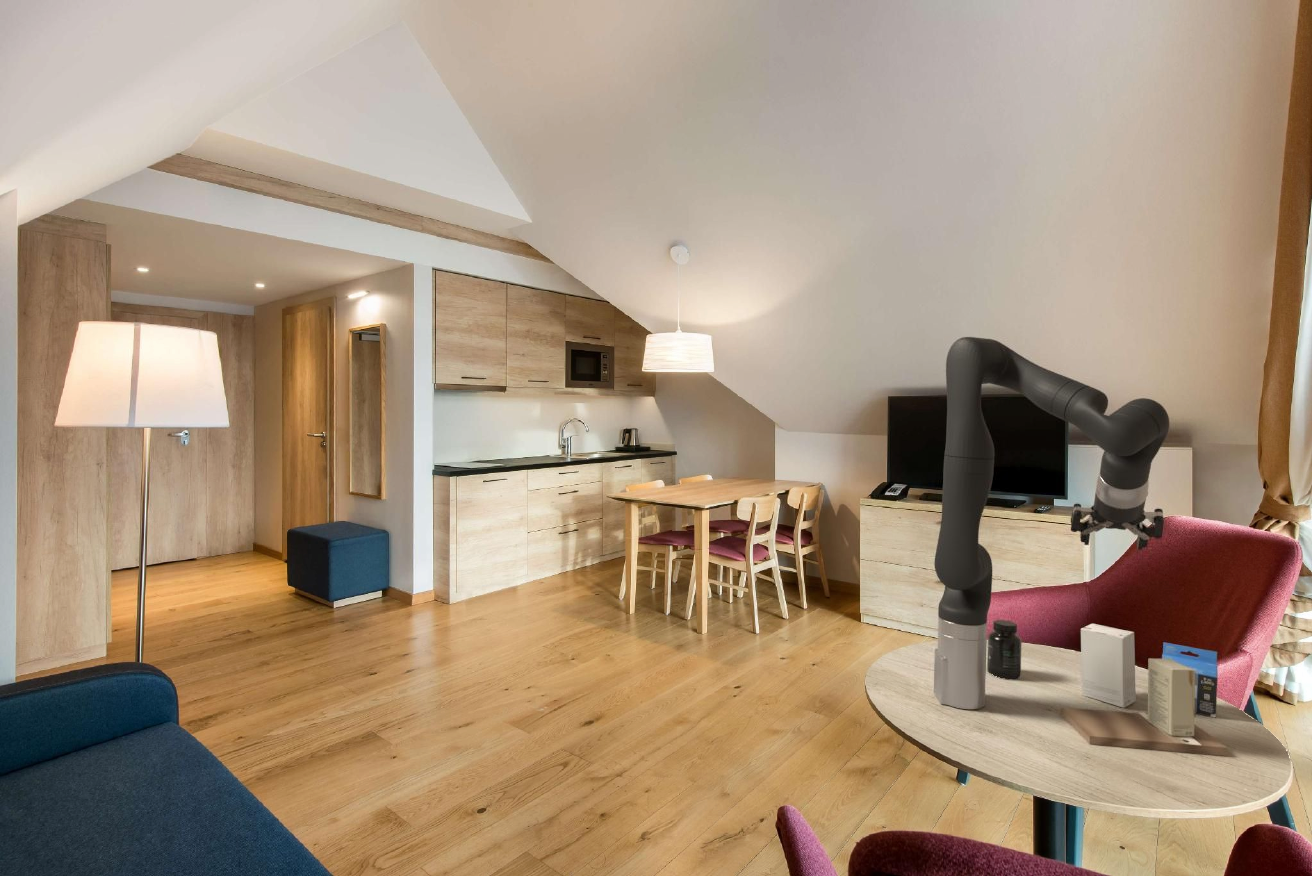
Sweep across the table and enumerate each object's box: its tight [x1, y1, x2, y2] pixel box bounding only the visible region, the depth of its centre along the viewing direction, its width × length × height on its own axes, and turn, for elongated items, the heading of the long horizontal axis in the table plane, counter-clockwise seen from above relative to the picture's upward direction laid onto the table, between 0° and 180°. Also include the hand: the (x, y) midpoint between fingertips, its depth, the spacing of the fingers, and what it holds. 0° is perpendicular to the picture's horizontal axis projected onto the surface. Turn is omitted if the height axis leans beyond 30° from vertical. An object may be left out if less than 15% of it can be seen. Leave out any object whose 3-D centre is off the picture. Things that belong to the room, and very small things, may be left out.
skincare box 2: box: [1147, 657, 1195, 736], centre depth 121 cm, size 6×4×12 cm
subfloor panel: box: [1060, 706, 1228, 756], centre depth 122 cm, size 22×12×2 cm, turn 80°
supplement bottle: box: [986, 619, 1023, 680], centre depth 150 cm, size 7×7×12 cm
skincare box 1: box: [1080, 623, 1137, 708], centre depth 137 cm, size 8×6×15 cm
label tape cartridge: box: [1161, 642, 1219, 718], centre depth 133 cm, size 9×4×12 cm, turn 51°
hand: (1112, 543), depth 128 cm, fingers open, 8 cm apart
